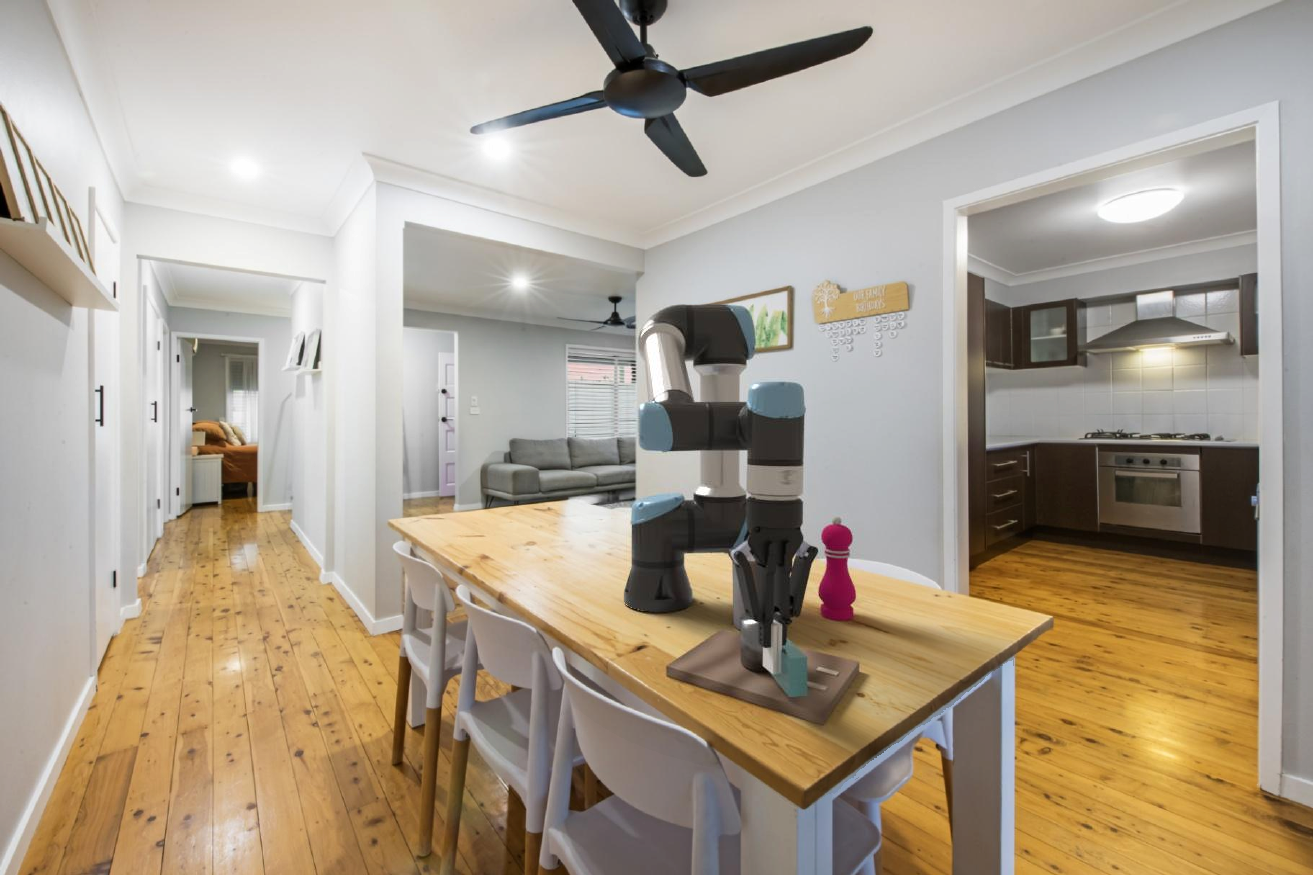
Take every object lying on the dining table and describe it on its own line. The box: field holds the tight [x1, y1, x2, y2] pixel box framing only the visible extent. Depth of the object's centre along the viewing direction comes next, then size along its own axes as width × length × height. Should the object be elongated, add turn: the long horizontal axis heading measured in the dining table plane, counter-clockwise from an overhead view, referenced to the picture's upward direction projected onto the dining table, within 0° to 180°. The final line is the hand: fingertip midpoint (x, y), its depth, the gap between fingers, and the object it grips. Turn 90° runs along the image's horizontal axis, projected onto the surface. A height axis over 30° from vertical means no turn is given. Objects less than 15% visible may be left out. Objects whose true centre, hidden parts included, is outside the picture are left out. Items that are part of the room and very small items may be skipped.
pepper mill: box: [817, 516, 857, 622], centre depth 106 cm, size 7×7×20 cm
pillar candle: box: [731, 551, 757, 631], centre depth 101 cm, size 10×10×15 cm
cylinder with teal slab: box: [739, 613, 807, 697], centre depth 76 cm, size 7×16×7 cm, turn 8°
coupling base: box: [665, 629, 860, 726], centre depth 81 cm, size 24×18×2 cm
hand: (772, 669), depth 71 cm, fingers closed
